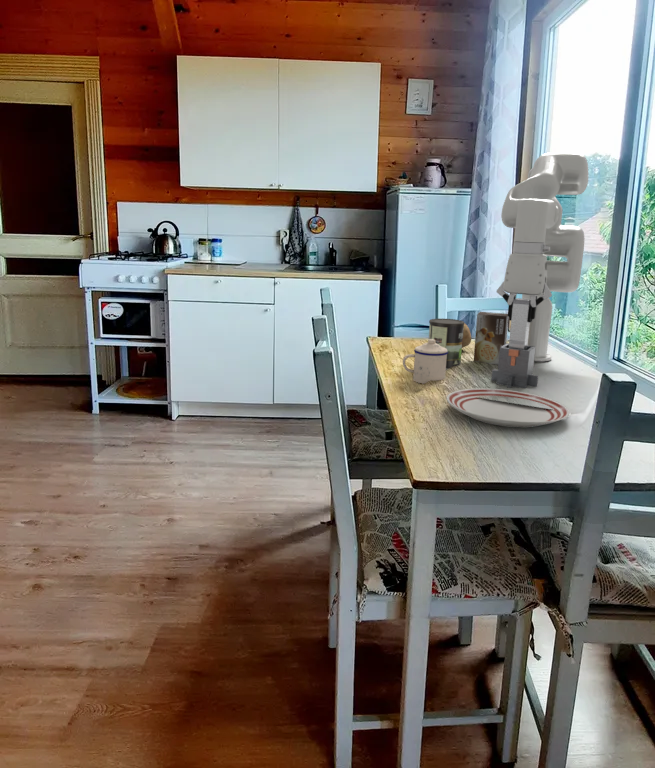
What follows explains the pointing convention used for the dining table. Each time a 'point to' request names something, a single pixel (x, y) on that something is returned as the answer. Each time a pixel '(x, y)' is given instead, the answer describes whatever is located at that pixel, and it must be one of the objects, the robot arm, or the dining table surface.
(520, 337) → the column
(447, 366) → the coffee can
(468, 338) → the natural sponge
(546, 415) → the dinner plate
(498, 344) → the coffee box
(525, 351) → the stand base
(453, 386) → the dining table surface
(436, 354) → the teacup with lid
